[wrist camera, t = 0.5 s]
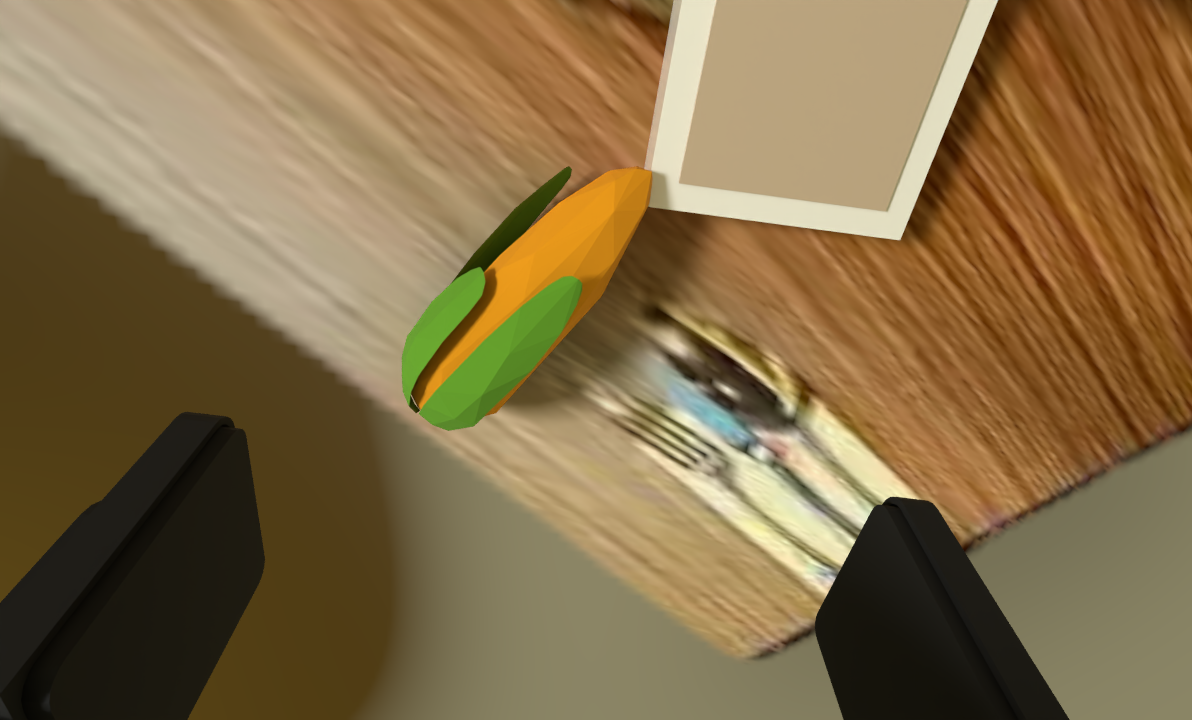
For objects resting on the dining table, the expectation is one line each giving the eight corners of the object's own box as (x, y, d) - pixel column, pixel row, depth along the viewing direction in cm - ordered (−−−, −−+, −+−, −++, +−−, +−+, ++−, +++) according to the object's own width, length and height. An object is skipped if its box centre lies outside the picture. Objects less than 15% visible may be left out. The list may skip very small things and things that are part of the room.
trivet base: (694, -117, 29) (705, -124, 26) (989, -66, 30) (1028, -68, 28) (640, 188, 37) (644, 207, 34) (879, 220, 38) (902, 242, 35)
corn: (350, 422, 36) (587, 136, 27) (382, 345, 42) (583, 94, 34) (464, 483, 38) (709, 241, 30) (478, 403, 45) (684, 184, 37)
